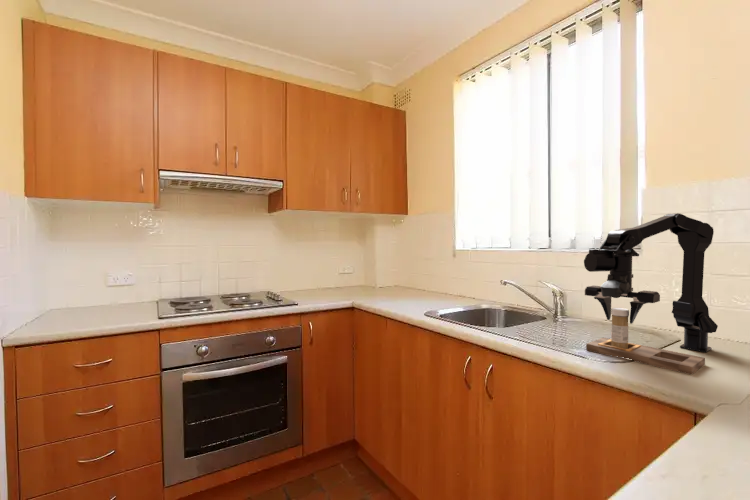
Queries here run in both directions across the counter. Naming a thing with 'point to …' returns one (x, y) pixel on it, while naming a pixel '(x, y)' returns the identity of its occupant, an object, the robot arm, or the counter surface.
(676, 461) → the counter surface
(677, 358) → the rail
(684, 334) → the robot arm
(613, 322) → the sprinkles bottle
